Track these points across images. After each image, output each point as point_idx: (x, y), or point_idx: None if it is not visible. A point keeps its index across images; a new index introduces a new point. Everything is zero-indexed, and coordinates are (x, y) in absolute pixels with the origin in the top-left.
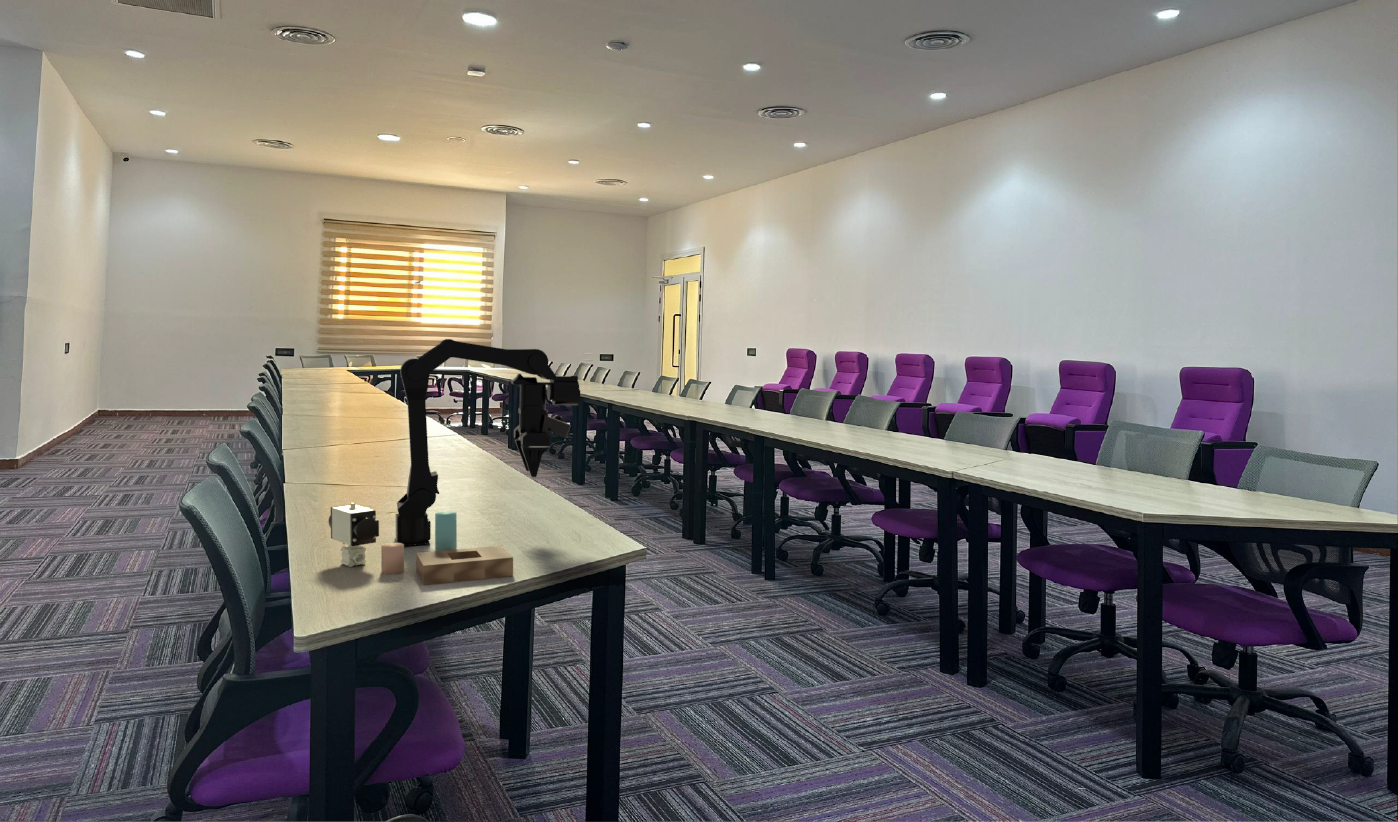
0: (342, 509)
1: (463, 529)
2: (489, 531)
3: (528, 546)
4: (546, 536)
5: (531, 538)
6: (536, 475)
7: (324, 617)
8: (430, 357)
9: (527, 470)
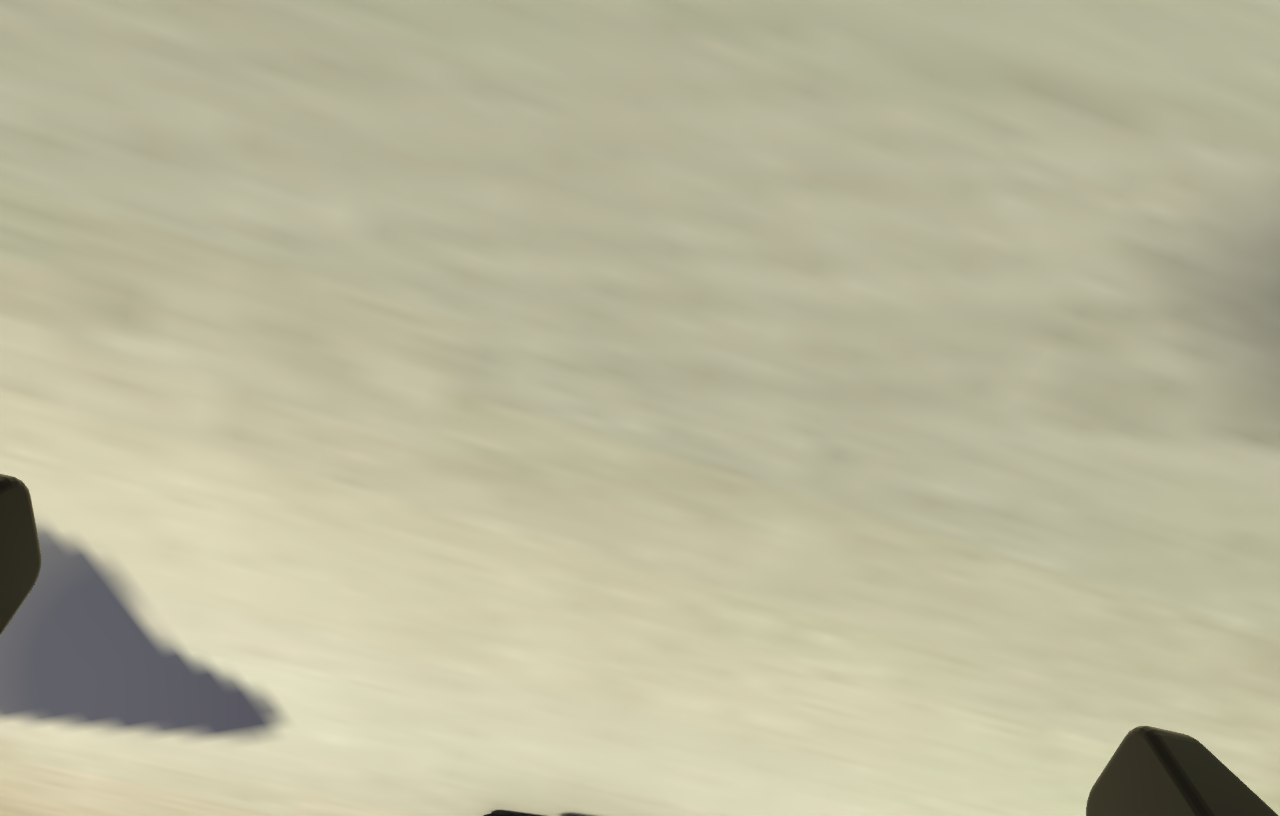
0: None
1: (249, 567)
2: (372, 433)
3: (1119, 337)
4: (800, 13)
5: (811, 199)
6: (1221, 767)
7: None
8: None
9: (27, 559)
